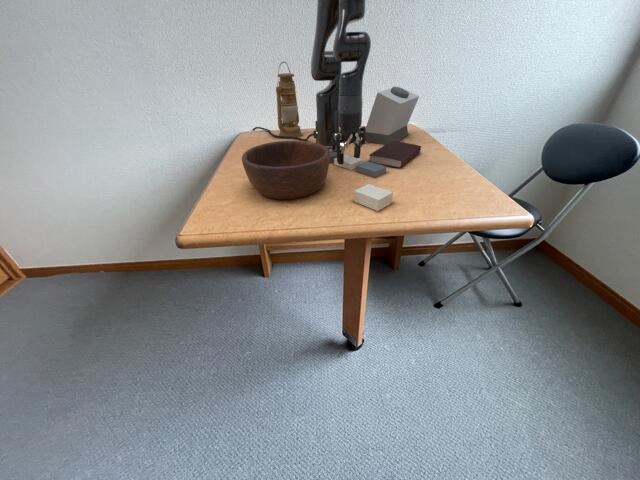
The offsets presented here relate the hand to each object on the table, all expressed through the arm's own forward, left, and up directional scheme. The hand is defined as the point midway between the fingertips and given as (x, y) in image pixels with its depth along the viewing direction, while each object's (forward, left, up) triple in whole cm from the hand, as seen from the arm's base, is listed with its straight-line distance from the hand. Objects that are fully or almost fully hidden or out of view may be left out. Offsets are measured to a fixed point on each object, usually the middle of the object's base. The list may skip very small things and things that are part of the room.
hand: (348, 160), depth 96 cm
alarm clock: (-10, +38, -2) cm, 39 cm away
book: (+8, +17, -2) cm, 19 cm away
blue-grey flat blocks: (0, 0, -2) cm, 2 cm away
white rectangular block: (+24, -17, -2) cm, 29 cm away
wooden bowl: (-1, -26, -2) cm, 26 cm away
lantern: (-48, +12, -2) cm, 50 cm away
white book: (0, 0, -2) cm, 2 cm away
